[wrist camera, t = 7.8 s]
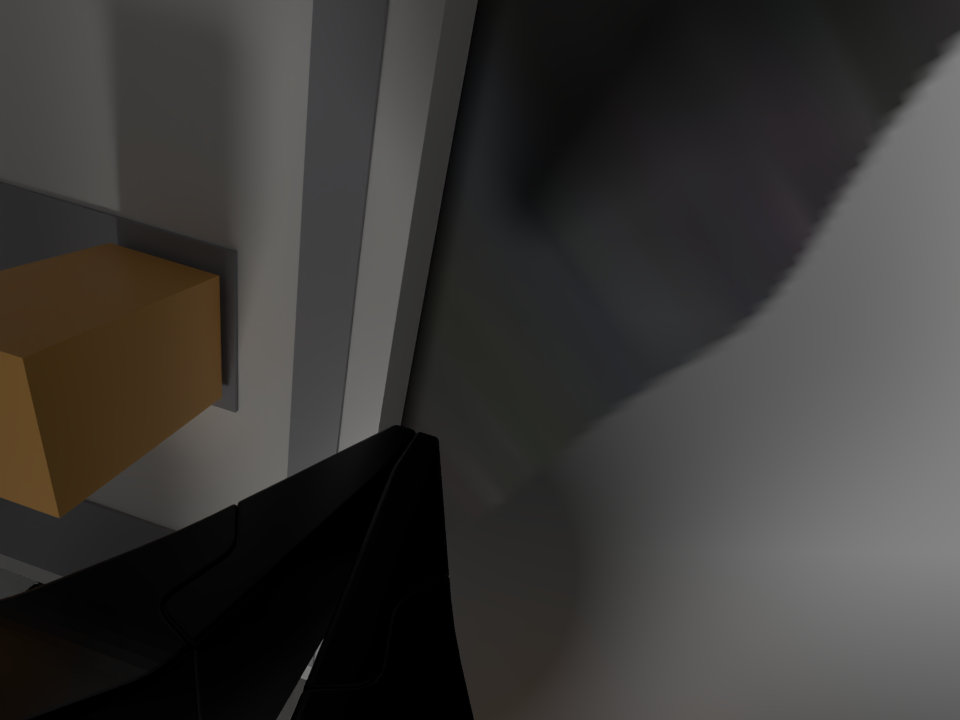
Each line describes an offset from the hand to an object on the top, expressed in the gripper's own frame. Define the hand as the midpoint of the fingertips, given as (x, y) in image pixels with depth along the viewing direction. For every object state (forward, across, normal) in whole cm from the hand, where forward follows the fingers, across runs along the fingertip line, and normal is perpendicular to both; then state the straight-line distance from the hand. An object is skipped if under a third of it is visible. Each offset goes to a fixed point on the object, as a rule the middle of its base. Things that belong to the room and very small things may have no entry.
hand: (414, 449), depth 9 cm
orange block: (+1, +6, 0) cm, 6 cm away
